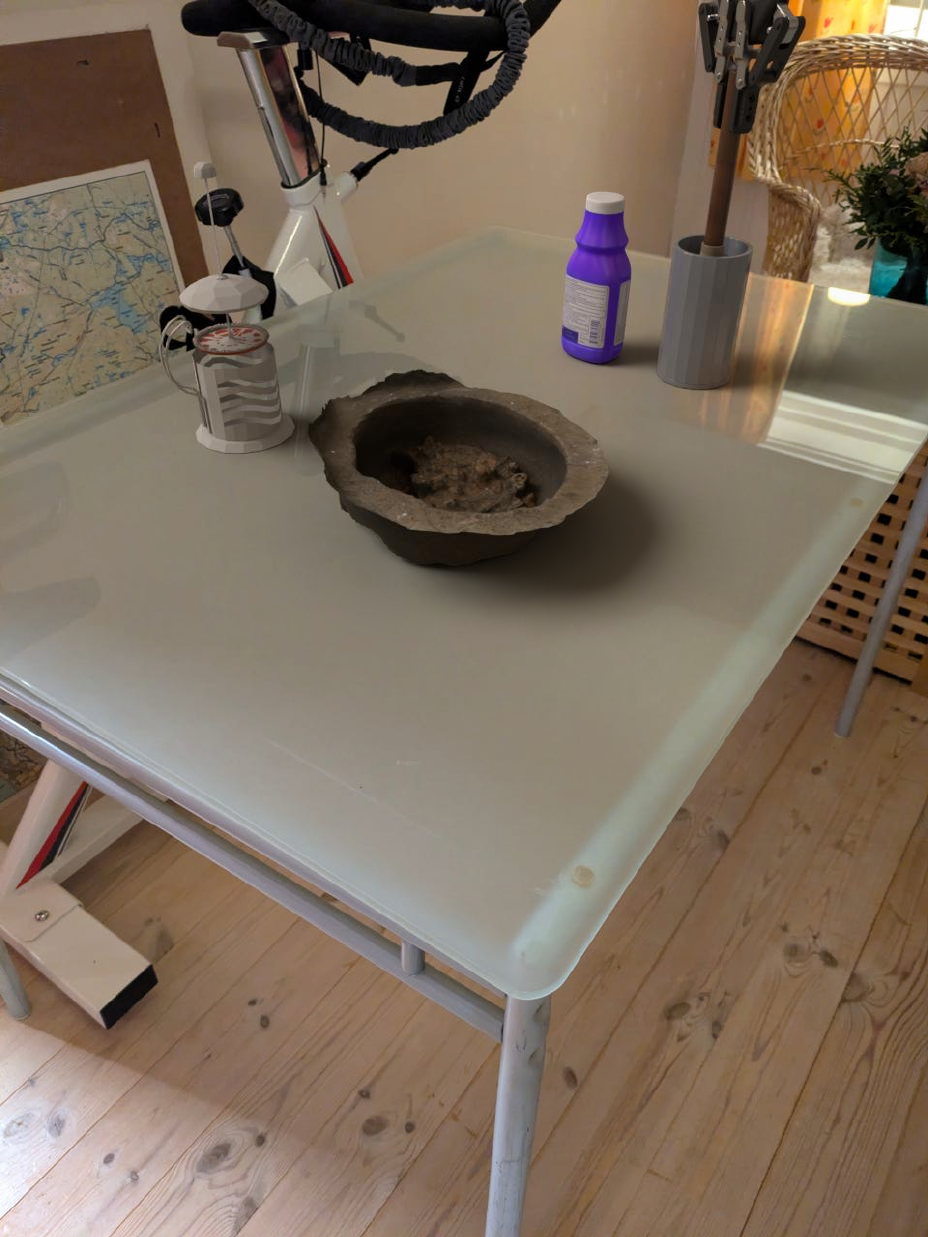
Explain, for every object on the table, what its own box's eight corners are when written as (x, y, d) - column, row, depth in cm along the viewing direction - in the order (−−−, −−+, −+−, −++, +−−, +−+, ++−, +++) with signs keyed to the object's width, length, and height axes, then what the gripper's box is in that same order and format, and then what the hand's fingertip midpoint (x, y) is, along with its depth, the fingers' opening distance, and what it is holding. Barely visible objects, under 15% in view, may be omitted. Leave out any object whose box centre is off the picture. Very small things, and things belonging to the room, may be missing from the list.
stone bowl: (275, 479, 87) (270, 383, 82) (517, 445, 96) (526, 356, 91) (366, 632, 69) (367, 521, 64) (652, 571, 79) (674, 470, 73)
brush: (709, 296, 104) (746, 65, 90) (732, 310, 100) (775, 72, 87) (674, 301, 102) (706, 68, 89) (697, 316, 99) (734, 75, 85)
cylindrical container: (703, 355, 110) (724, 230, 101) (743, 382, 104) (769, 252, 96) (643, 365, 108) (659, 238, 99) (680, 394, 102) (701, 261, 93)
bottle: (631, 355, 110) (649, 196, 99) (602, 370, 107) (617, 207, 96) (581, 339, 114) (593, 184, 103) (551, 353, 111) (560, 194, 100)
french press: (310, 437, 94) (280, 166, 79) (196, 467, 90) (140, 185, 74) (272, 400, 101) (238, 142, 85) (165, 426, 96) (107, 158, 81)
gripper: (858, -96, 76) (809, 142, 87) (755, -100, 86) (723, 113, 97) (779, -94, 74) (740, 149, 85) (684, -99, 84) (659, 119, 95)
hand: (731, 129), depth 91 cm, fingers closed on brush, 2 cm apart
